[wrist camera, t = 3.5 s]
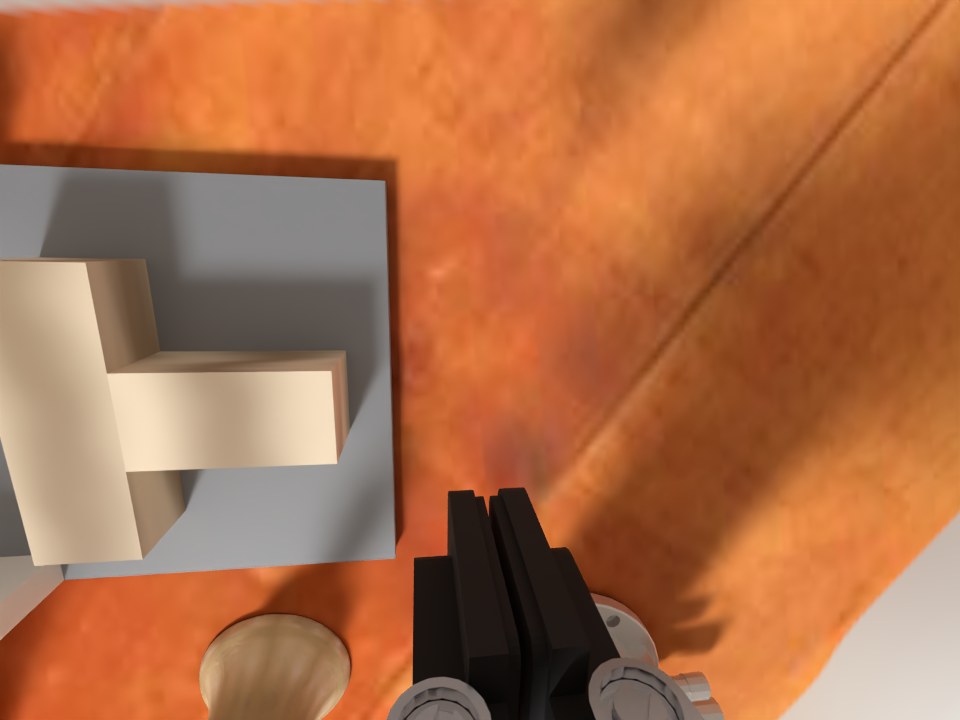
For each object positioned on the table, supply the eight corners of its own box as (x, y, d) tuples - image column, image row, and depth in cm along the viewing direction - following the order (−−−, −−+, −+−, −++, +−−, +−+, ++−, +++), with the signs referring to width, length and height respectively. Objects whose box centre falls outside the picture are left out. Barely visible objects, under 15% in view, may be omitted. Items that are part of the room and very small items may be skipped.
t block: (341, 262, 20) (325, 266, 16) (353, 502, 23) (342, 547, 19) (38, 257, 18) (-48, 260, 15) (95, 515, 21) (34, 565, 18)
